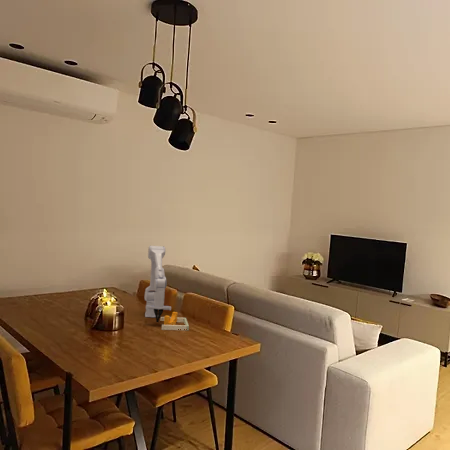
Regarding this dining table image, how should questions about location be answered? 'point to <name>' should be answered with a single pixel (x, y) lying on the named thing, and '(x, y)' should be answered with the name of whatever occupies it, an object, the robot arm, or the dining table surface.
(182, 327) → the bracket
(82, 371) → the dining table surface
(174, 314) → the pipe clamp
